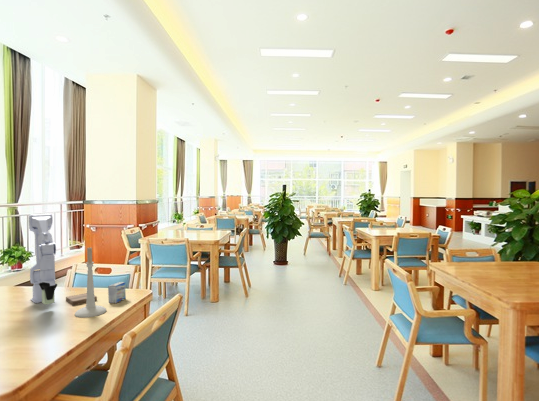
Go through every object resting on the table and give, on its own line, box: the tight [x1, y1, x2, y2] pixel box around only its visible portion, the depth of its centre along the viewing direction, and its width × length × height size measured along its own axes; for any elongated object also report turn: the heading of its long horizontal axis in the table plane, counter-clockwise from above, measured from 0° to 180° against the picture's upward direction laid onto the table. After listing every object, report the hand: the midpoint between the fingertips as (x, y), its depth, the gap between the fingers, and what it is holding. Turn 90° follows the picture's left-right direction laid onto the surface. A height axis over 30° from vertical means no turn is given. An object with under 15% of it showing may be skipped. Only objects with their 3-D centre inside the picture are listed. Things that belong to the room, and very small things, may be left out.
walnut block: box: [65, 292, 98, 306], centre depth 179 cm, size 11×11×2 cm
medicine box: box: [107, 281, 126, 304], centre depth 178 cm, size 8×4×9 cm, turn 168°
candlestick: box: [74, 247, 107, 319], centre depth 160 cm, size 13×13×30 cm
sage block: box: [41, 290, 56, 305], centre depth 163 cm, size 4×4×6 cm
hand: (48, 298), depth 163 cm, fingers closed on sage block, 4 cm apart
